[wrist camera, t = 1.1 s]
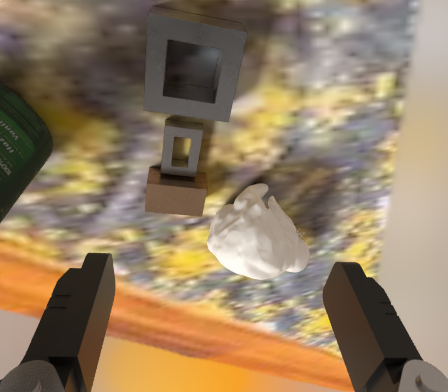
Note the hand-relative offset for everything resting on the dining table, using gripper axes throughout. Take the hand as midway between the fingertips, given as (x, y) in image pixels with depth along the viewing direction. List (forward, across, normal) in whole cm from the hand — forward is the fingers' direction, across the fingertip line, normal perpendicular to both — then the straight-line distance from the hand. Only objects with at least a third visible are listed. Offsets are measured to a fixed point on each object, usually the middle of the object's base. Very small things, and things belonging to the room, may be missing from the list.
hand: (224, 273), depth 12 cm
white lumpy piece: (+18, -6, +12) cm, 22 cm away
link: (+17, +2, -3) cm, 18 cm away
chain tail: (+17, +2, +6) cm, 18 cm away
